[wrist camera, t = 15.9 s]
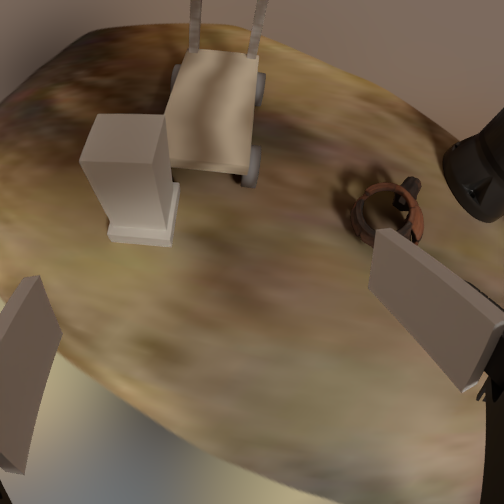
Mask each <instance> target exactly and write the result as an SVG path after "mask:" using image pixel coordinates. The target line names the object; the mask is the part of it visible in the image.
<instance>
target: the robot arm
mask: <svg viewBox="0 0 504 504" xmlns="http://www.w3.org/2000/svg"><path fill="white" fill-rule="evenodd" d="M443 169H444V174H445V177H446V180H447V182H448V184H449V187H450V189H451V190H452V192H453V194H454V196H455V197H456V199H457V200H458V201H459V203H460V204H461V205H462V206H463V207H464V209H465V210H466V211H467V212H468V213H470V214H471V215H472V216H473V217H475V218H476V219H478V220H480V221H482V222H486V223H491V222H494V221H496V220H497V219H499V218H500V217H502V216H503V215H504V108H503V109H502V110H501V111H500V112H499V113H498V114H497V115H496V116H495V117H494V118H493V119H492V120H491V121H490V122H489V123H488V124H487V125H486V126H485V127H484V128H483V130H482V131H481V132H480V133H478V134H476V135H474V136H472V137H469V138H467V139H464V140H462V141H460V142H457V143H455V144H454V145H453V146H452V147H451V148H450V149H449V150H448V151H447V152H446V153H445V155H444V158H443ZM368 289H369V290H370V291H371V292H372V293H373V294H374V295H375V296H376V297H377V298H378V299H379V300H380V301H381V302H382V303H383V305H384V306H385V307H386V308H387V309H388V310H389V311H390V312H391V313H392V314H393V315H394V316H395V317H396V319H397V320H398V321H399V322H400V323H401V324H402V325H403V326H404V327H405V328H406V330H407V331H408V332H409V333H410V334H411V335H412V336H413V337H414V338H415V339H416V341H417V342H418V343H419V344H420V345H421V346H422V347H423V348H424V350H425V351H426V352H427V353H428V354H429V355H430V356H431V358H432V359H433V360H434V361H435V362H436V363H437V364H438V366H439V367H440V368H441V369H442V370H443V371H444V373H445V374H446V375H447V376H448V377H449V378H450V380H451V381H452V382H453V383H454V384H455V386H456V387H457V388H458V389H459V390H460V392H461V393H462V392H464V391H466V390H467V389H469V388H471V387H473V386H474V385H476V384H477V383H478V381H479V379H480V377H481V375H482V373H483V372H484V371H485V372H486V373H487V374H488V375H489V376H488V378H487V380H486V381H485V383H484V385H483V387H482V388H481V390H480V392H479V393H478V395H477V399H476V400H477V401H479V400H480V398H481V396H482V395H483V393H486V396H485V397H484V399H483V401H485V402H486V446H485V463H484V475H483V484H482V493H481V500H480V504H504V309H502V308H501V307H500V306H499V305H498V304H496V303H495V302H494V301H493V300H491V299H490V298H489V299H488V296H486V295H485V294H484V293H483V292H480V290H479V289H478V288H476V287H475V286H474V285H472V284H471V283H469V282H467V281H465V280H463V279H461V278H460V277H459V276H458V275H456V274H455V273H454V272H452V271H451V270H450V269H448V268H447V267H446V266H444V265H443V264H441V263H440V262H439V261H437V260H436V259H435V258H433V257H432V256H431V255H429V254H428V253H426V252H425V251H424V250H422V249H421V248H419V247H418V246H416V245H415V244H414V243H412V242H411V241H409V240H408V239H406V238H405V237H404V236H402V235H401V234H399V233H398V232H396V231H395V230H393V229H392V228H386V229H378V230H376V233H375V242H374V250H373V257H372V264H371V271H370V278H369V285H368ZM62 334H63V333H62V331H61V329H60V326H59V324H58V322H57V319H56V317H55V315H54V312H53V310H52V307H51V305H50V302H49V300H48V297H47V294H46V292H45V289H44V286H43V283H42V281H41V278H40V275H39V276H32V277H25V278H23V280H22V281H21V283H20V284H19V285H18V287H17V288H16V290H15V291H14V293H13V294H12V296H11V297H10V299H9V300H8V302H7V303H6V305H5V307H4V308H3V310H2V311H1V313H0V467H1V468H2V469H3V470H4V471H5V472H10V473H16V474H23V475H24V474H25V468H26V463H27V458H28V453H29V448H30V444H31V439H32V435H33V431H34V426H35V422H36V418H37V414H38V411H39V406H40V403H41V399H42V396H43V392H44V389H45V386H46V382H47V379H48V376H49V373H50V369H51V366H52V363H53V360H54V357H55V354H56V351H57V348H58V346H59V343H60V340H61V337H62ZM0 504H12V503H11V500H10V498H9V497H8V495H7V493H6V491H5V489H4V487H3V485H2V483H1V481H0Z"/></svg>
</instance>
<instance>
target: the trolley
mask: <svg viewBox="0 0 504 504" xmlns="http://www.w3.org/2000/svg"><path fill="white" fill-rule="evenodd" d="M267 3H268V0H258V1H257V6H256V11H255V16H254V22H253V27H252V32H251V38H250V43H249V48H248V54H243V53H235V52H226V51H216V50H204V49H199V40H200V23H201V7H202V0H191V5H190V6H191V7H190V30H189V48H188V49H187V51H186V54H185V57H184V59H183V62H182V64H176V65H175V66H174V69H173V72H172V77H171V87H170V91H171V95H170V98H169V101H168V104H167V107H166V110H165V113H164V115H165V119H166V129H167V139H168V148H169V157H170V165H171V167H173V168H184V169H195V170H204V171H214V172H223V173H231V174H239V175H241V187H248V188H255V187H256V184H257V180H258V175H259V168H260V160H261V146H257V145H251V140H252V128H253V117H254V106H261V102H262V98H263V93H264V87H265V79H266V74H265V73H259V72H258V61H259V56H257V50H258V46H259V41H260V36H261V31H262V26H263V22H264V17H265V12H266V8H267Z"/></svg>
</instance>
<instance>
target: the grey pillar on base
mask: <svg viewBox="0 0 504 504" xmlns="http://www.w3.org/2000/svg"><path fill="white" fill-rule="evenodd" d="M79 163H80V165H81V167H82V169H83V171H84V173H85V175H86V177H87V179H88V181H89V183H90V185H91V187H92V188H93V190H94V192H95V194H96V196H97V198H98V200H99V202H100V204H101V205H102V207H103V209H104V211H105V213H106V215H107V216H108V218H109V220H110V224H109V228H108V233H107V235H108V237H109V238H110V240H111V242H120V243H131V244H142V245H153V246H164V247H172V242H173V235H174V228H175V221H176V215H177V208H178V202H179V196H180V185H179V183H176V182H172V174H171V165H170V157H169V148H168V139H167V129H166V119H165V115H153V114H98V115H97V117H96V119H95V121H94V124H93V126H92V129H91V131H90V133H89V136H88V138H87V141H86V143H85V146H84V149H83V151H82V154H81V156H80V159H79Z"/></svg>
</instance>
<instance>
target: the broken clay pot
mask: <svg viewBox="0 0 504 504" xmlns="http://www.w3.org/2000/svg"><path fill="white" fill-rule="evenodd" d="M420 189H421V182H420V180H419V179H418V178H415V177H407V178H406V179H405V180H404V182H403V183H402V184H401V185H400V186H399V185H397V184H393V183H386V182H383V183H377V184H374V185H371V186H370V187H368V188H367V189H366V190H365V194H363V196H361V197H360V198H359V199H358V200H357V201H356V202H355V204H354V206H353V208H352V211H351V222H352V226H353V229H354V231H355V233H356V235H357V236H358V237H359V236H360V237H361V240H362V241H363V242H364V243H366V244H368V245H370V246H371V247H372V248H374V242H375V233H376V230H374V229H372V228H371V227H370V226H369V225H368V224H367V223H366V222H365V220H364V217H363V213H362V209H363V205H364V201H365V200H366V199H367V198H368V197H369V196H371V195H372V194H374V193H376V192H379V191H392V192H394V194H395V196H394V199H393V200H394V201H393V203H392V204H393V206H394V207H396V208H397V209H398V210H399V211H409V213H408V215H407V218H406V219H405V220H404V223H405V225H404V226H403V227H402V228H401V229H399V230H397V231H396V232H398V233H399V234H401V235H402V236H404V237H405V238H406V239H408V240H410V233H411V235H412V243H414V244H415V245H416V246H417V245H418V243H419V241H420V240H421V238H422V235H423V230H424V221H423V215H422V211H421V209H420V207H419V206H418V203H417V201H416V199H417V194H418V193H419V191H420Z"/></svg>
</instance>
